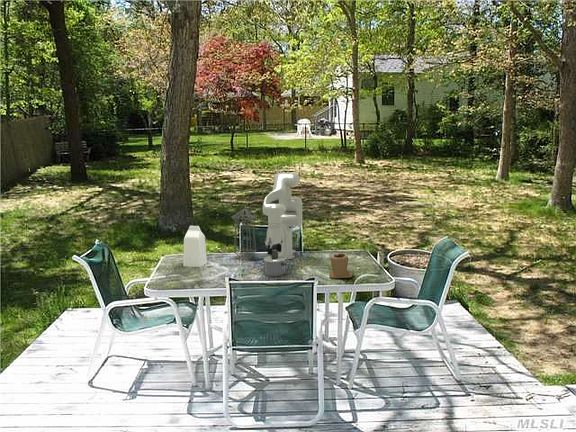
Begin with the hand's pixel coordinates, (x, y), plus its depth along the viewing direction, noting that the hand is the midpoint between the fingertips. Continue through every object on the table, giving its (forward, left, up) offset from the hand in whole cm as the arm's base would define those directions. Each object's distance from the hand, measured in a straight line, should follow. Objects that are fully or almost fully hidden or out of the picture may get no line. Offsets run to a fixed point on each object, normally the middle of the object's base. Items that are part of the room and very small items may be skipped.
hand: (274, 253), depth 341 cm
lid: (0, 0, -5) cm, 5 cm away
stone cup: (-15, +39, -13) cm, 44 cm away
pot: (0, 0, -13) cm, 13 cm away
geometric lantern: (-23, -42, -13) cm, 50 cm away
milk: (+10, -58, -13) cm, 60 cm away
